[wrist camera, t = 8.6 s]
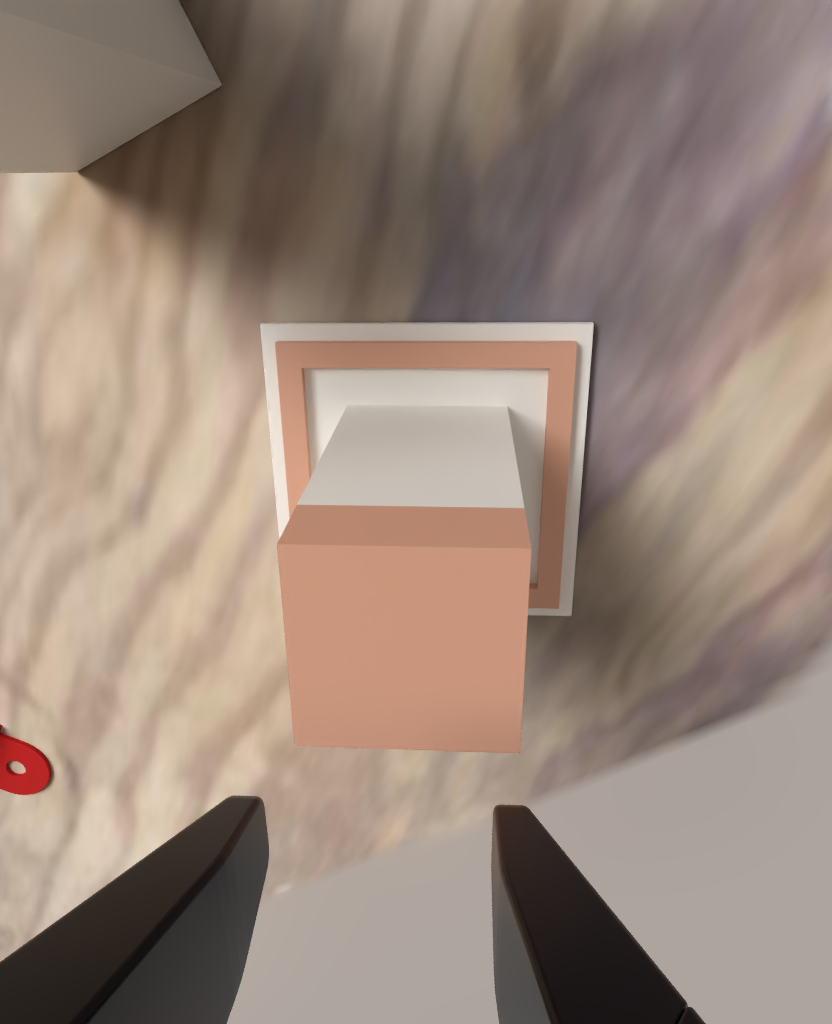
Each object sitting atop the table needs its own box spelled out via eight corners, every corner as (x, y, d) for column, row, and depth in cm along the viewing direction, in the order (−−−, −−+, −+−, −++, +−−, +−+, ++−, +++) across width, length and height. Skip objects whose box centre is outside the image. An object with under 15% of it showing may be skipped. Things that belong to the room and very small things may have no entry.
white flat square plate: (592, 321, 19) (595, 326, 18) (570, 612, 22) (572, 621, 22) (261, 322, 19) (257, 326, 19) (287, 606, 22) (283, 616, 22)
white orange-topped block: (507, 406, 20) (531, 548, 12) (501, 550, 21) (520, 753, 14) (347, 404, 20) (276, 544, 12) (353, 548, 21) (294, 746, 14)
